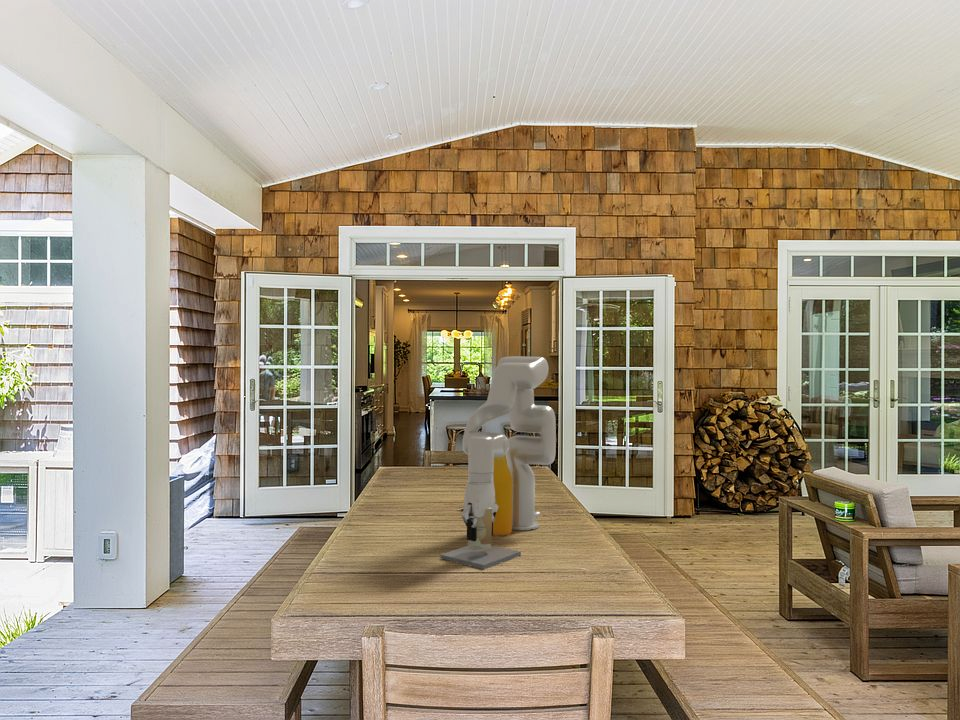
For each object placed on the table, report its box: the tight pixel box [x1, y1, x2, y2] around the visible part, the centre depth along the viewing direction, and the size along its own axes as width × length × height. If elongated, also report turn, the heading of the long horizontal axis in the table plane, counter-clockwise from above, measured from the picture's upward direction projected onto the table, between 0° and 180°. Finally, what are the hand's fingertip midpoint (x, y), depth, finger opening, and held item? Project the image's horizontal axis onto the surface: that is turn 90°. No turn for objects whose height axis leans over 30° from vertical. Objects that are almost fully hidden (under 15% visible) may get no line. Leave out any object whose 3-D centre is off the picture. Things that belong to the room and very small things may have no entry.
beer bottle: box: [493, 455, 513, 536], centre depth 236 cm, size 9×9×29 cm
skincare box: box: [467, 507, 492, 550], centre depth 207 cm, size 6×4×12 cm
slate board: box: [439, 544, 522, 570], centre depth 207 cm, size 18×16×1 cm
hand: (480, 537), depth 207 cm, fingers closed on skincare box, 7 cm apart
